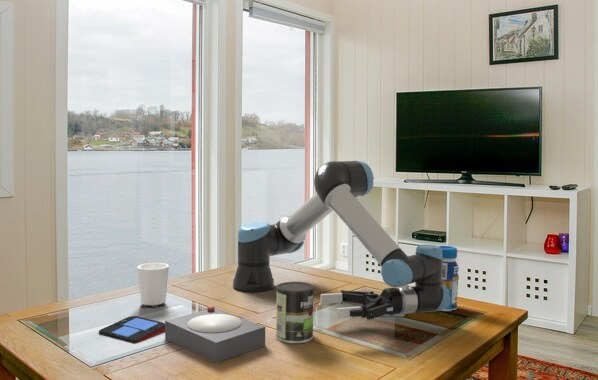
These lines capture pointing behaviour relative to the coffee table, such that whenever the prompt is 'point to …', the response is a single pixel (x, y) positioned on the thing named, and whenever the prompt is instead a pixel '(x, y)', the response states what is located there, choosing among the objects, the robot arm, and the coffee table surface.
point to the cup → (153, 283)
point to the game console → (133, 329)
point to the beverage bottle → (450, 275)
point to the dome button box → (215, 334)
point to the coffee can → (294, 312)
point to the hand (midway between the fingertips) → (328, 306)
